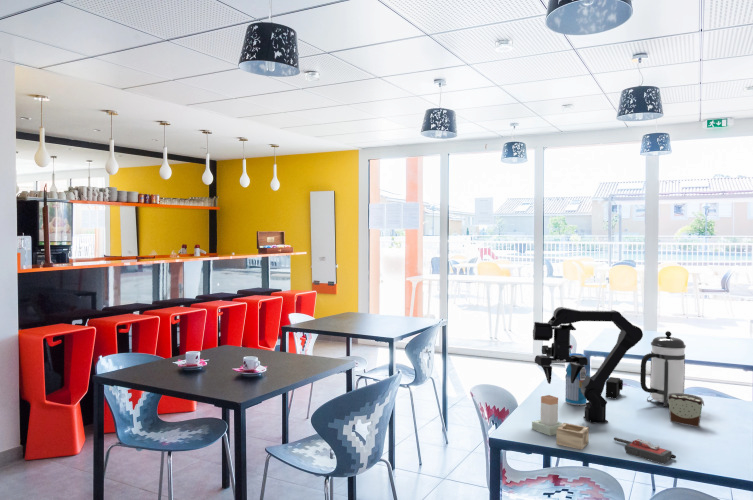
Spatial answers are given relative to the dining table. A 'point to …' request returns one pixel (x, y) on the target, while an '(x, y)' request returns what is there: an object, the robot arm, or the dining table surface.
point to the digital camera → (613, 387)
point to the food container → (685, 408)
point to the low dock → (545, 427)
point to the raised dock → (572, 435)
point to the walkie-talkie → (647, 450)
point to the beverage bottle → (575, 386)
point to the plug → (549, 410)
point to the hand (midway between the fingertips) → (560, 383)
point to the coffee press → (664, 368)
